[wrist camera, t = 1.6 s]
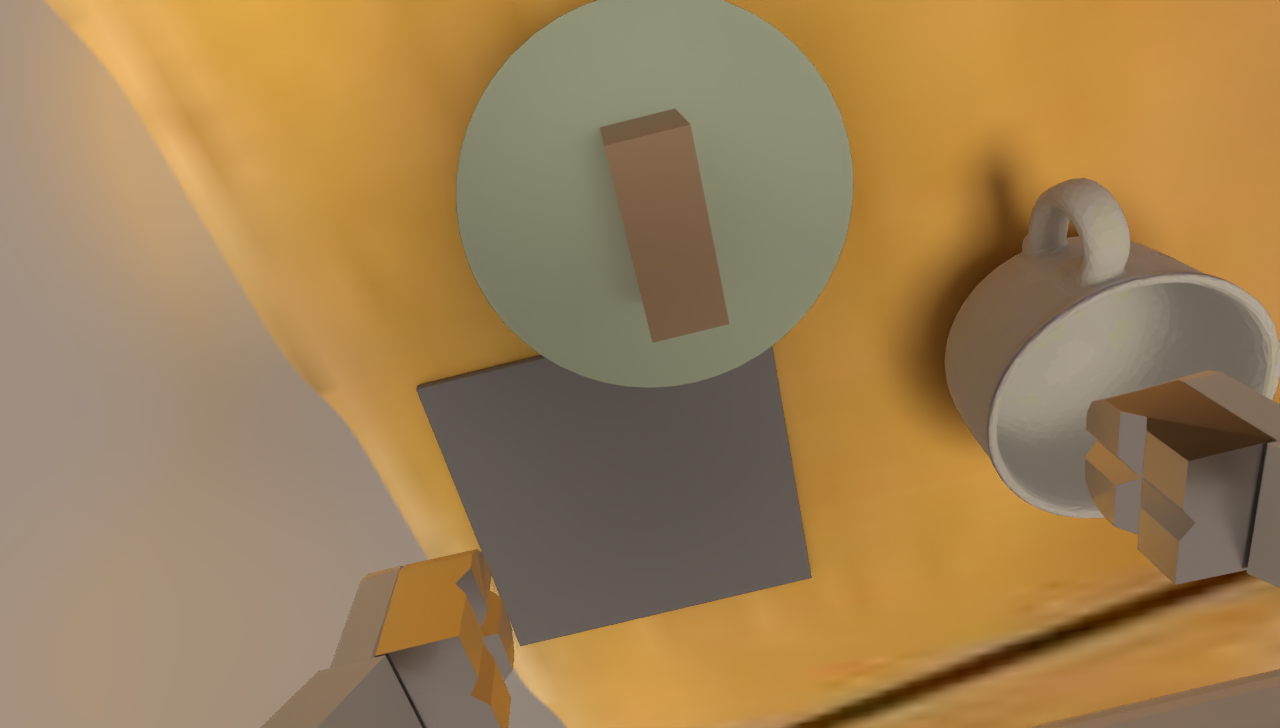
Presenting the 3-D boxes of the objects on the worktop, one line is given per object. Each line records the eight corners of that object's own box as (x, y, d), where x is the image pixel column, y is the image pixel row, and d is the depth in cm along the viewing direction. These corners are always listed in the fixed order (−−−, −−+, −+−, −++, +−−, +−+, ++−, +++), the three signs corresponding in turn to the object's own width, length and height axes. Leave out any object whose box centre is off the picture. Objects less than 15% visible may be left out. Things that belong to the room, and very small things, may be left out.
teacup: (1130, 403, 38) (1259, 496, 31) (916, 448, 39) (995, 550, 31) (1158, 119, 32) (1325, 152, 25) (904, 172, 33) (999, 221, 25)
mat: (809, 572, 41) (811, 577, 41) (520, 640, 42) (520, 646, 41) (763, 301, 35) (765, 304, 34) (418, 385, 35) (416, 389, 35)
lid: (862, 329, 29) (909, 382, 25) (525, 410, 29) (517, 477, 25) (818, -58, 23) (870, -70, 19) (402, 49, 24) (367, 59, 20)
